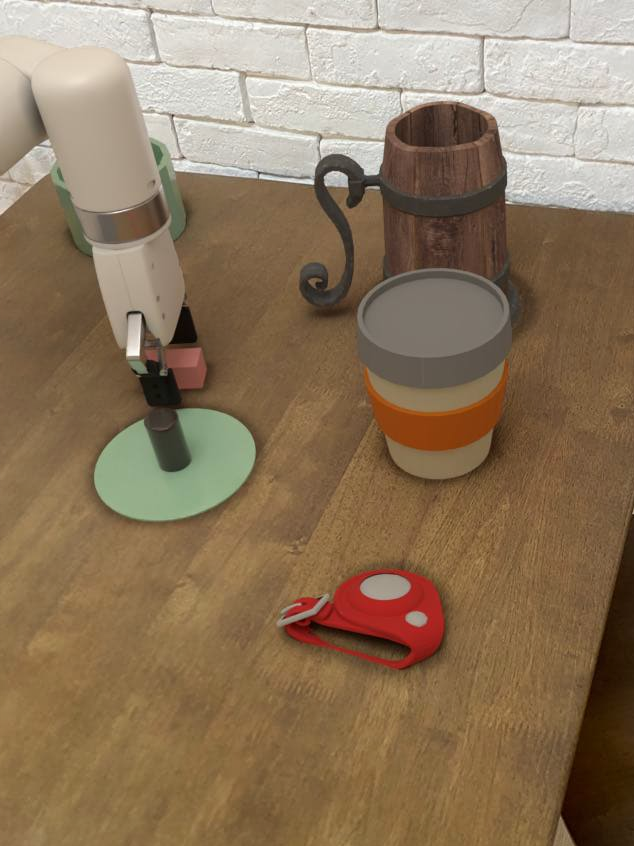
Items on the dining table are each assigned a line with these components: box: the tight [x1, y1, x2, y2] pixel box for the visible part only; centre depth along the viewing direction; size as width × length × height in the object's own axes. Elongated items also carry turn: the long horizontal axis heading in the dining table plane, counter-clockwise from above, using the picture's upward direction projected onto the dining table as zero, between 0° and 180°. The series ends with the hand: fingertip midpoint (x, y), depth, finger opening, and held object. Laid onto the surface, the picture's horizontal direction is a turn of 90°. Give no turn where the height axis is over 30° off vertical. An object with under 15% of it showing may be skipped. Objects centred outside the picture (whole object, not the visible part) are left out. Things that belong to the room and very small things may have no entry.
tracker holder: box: [275, 569, 445, 670], centre depth 70 cm, size 12×4×10 cm
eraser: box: [137, 347, 208, 392], centre depth 92 cm, size 6×3×4 cm, turn 90°
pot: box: [49, 137, 187, 258], centre depth 111 cm, size 14×14×8 cm
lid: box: [93, 407, 257, 523], centre depth 83 cm, size 15×15×6 cm
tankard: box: [298, 100, 522, 329], centre depth 91 cm, size 24×17×20 cm
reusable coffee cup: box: [356, 268, 513, 480], centre depth 79 cm, size 13×13×15 cm
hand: (174, 372), depth 92 cm, fingers open, 9 cm apart
